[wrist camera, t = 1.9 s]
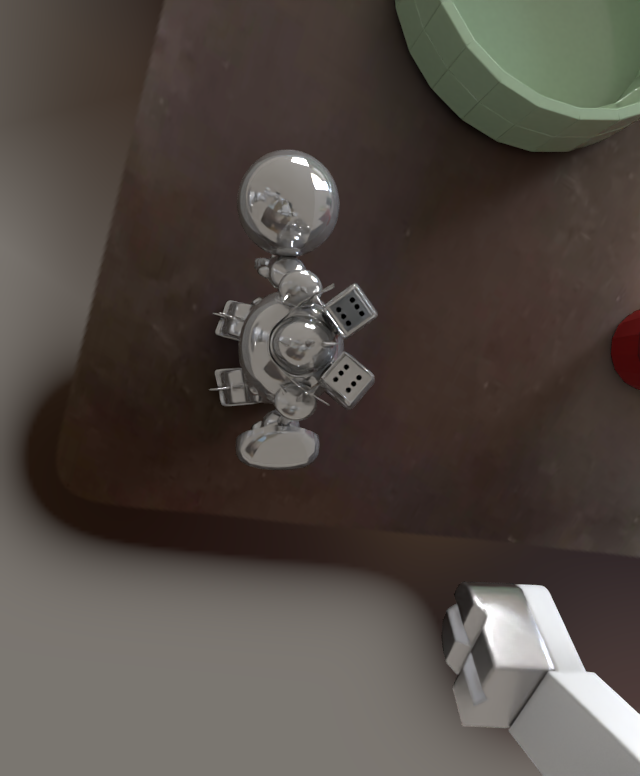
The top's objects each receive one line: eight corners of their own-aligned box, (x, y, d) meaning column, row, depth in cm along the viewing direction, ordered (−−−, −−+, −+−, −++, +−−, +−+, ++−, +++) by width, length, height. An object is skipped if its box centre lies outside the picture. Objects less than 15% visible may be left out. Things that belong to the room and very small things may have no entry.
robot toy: (216, 203, 35) (231, 76, 20) (317, 213, 36) (399, 101, 21) (206, 448, 35) (213, 500, 20) (306, 450, 36) (382, 500, 21)
